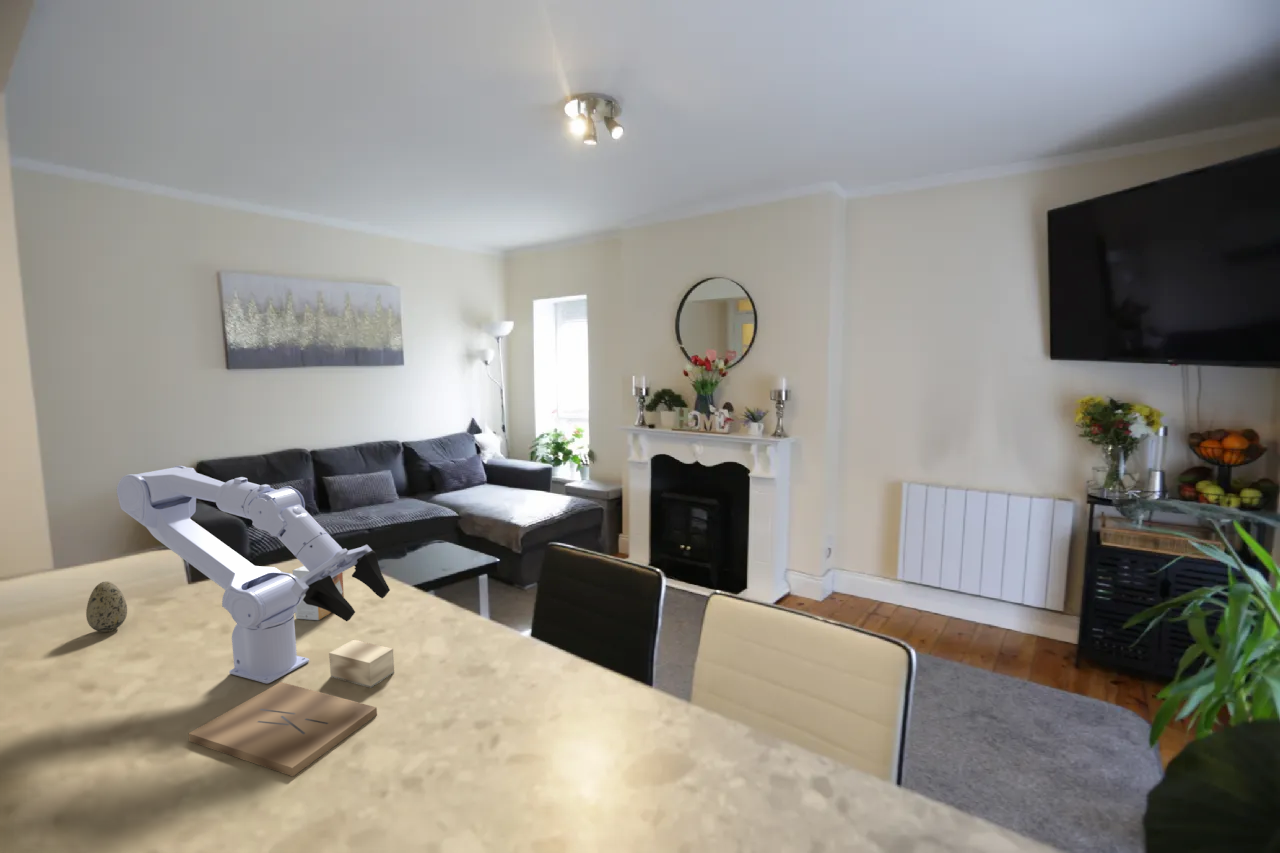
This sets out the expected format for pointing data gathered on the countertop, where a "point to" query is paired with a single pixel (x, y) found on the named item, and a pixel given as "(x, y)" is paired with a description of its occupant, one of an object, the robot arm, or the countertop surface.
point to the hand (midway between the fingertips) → (369, 605)
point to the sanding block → (361, 663)
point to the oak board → (284, 727)
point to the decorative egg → (106, 607)
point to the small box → (309, 610)
